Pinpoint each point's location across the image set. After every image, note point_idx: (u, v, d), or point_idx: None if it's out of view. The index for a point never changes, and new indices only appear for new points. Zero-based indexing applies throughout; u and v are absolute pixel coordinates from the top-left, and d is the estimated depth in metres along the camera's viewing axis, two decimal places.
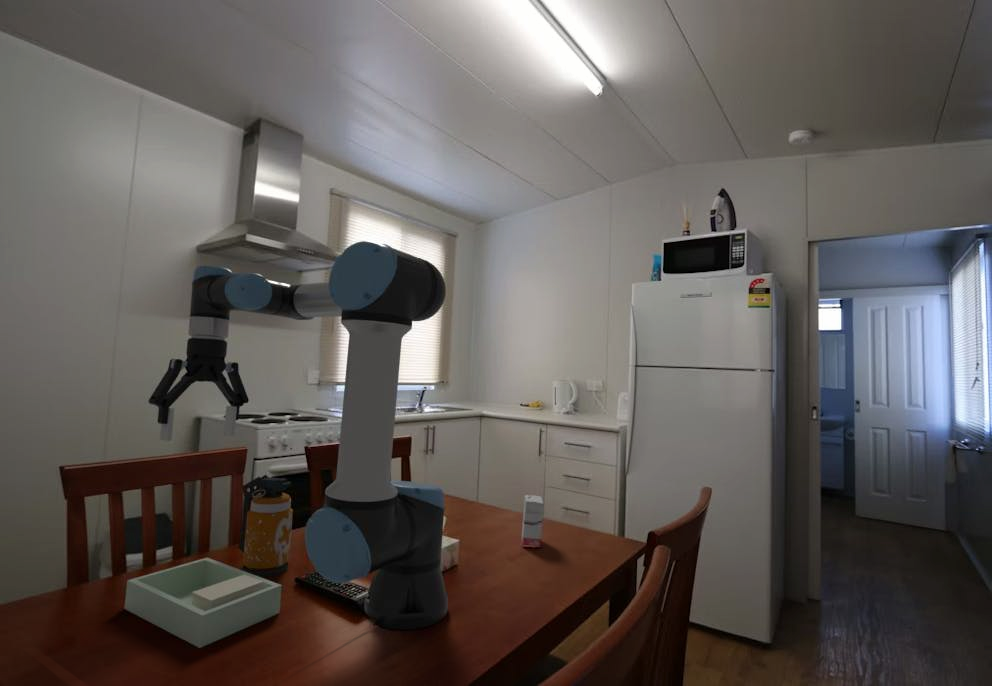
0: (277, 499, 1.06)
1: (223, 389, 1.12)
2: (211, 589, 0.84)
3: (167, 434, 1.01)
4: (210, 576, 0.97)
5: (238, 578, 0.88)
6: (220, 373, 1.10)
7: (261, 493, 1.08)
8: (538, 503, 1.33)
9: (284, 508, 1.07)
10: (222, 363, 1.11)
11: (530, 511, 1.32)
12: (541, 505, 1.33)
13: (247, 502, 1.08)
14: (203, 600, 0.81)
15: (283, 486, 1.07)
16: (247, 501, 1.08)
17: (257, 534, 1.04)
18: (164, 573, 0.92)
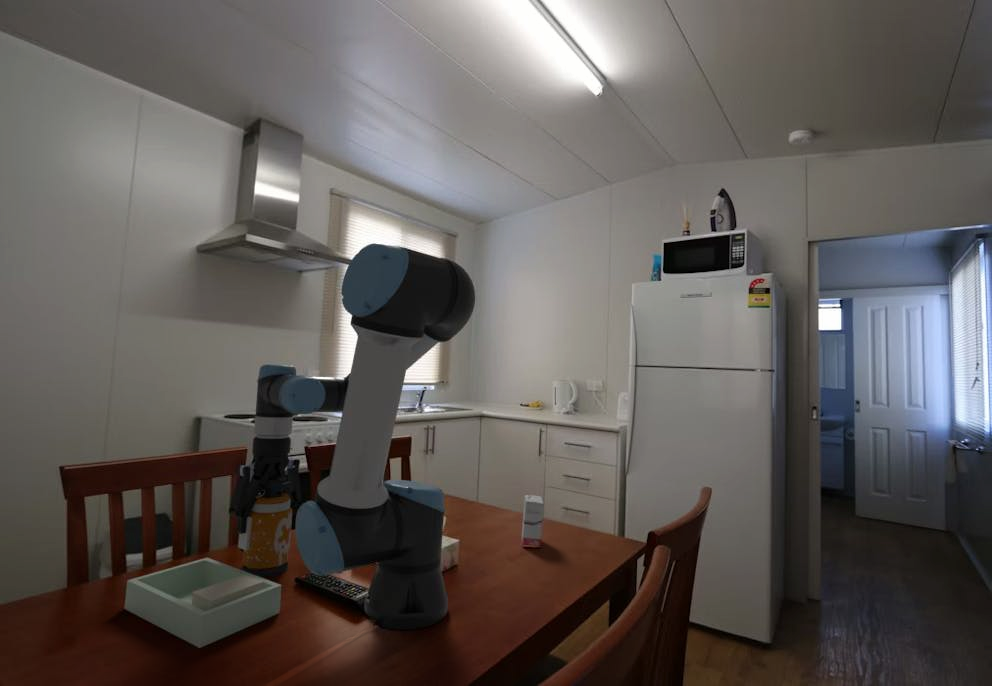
0: (276, 499, 1.06)
1: None
2: (211, 589, 0.84)
3: (246, 543, 1.03)
4: (210, 576, 0.97)
5: (238, 578, 0.88)
6: (283, 471, 1.10)
7: None
8: (538, 503, 1.33)
9: (284, 508, 1.07)
10: (286, 459, 1.12)
11: (530, 511, 1.32)
12: (541, 505, 1.33)
13: None
14: (203, 600, 0.81)
15: (282, 486, 1.07)
16: None
17: (257, 534, 1.04)
18: (164, 573, 0.92)
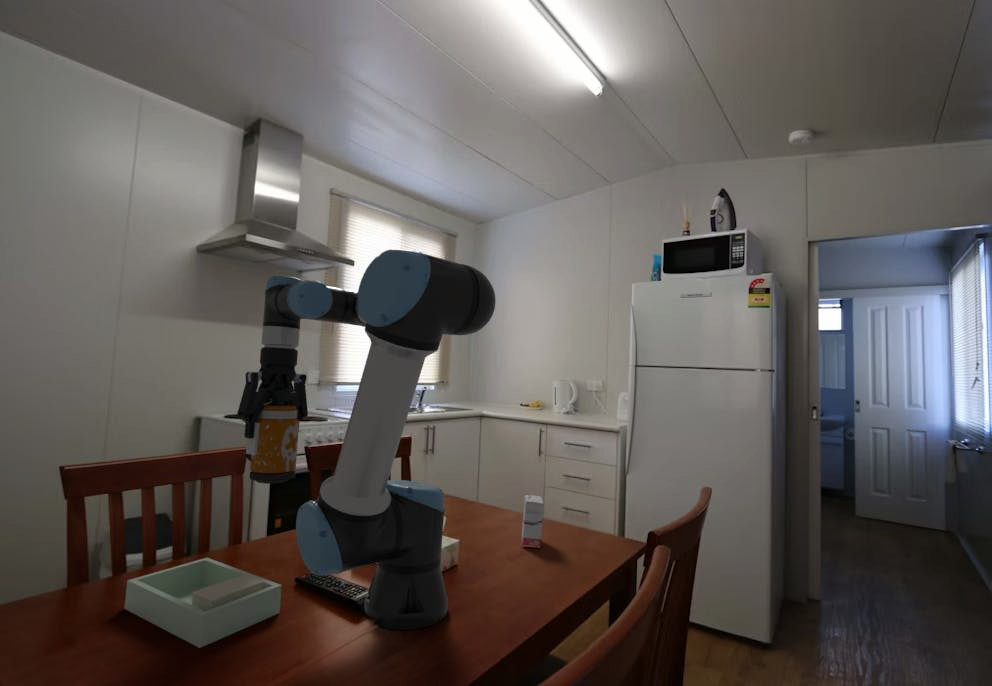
0: (284, 407, 1.07)
1: (288, 400, 1.13)
2: (211, 589, 0.84)
3: (254, 448, 1.05)
4: (210, 576, 0.97)
5: (238, 578, 0.88)
6: (290, 383, 1.11)
7: (268, 402, 1.09)
8: (538, 503, 1.33)
9: (291, 416, 1.08)
10: (293, 372, 1.13)
11: (530, 511, 1.32)
12: (541, 505, 1.33)
13: None
14: (203, 600, 0.81)
15: (290, 394, 1.08)
16: None
17: (264, 439, 1.05)
18: (164, 573, 0.92)
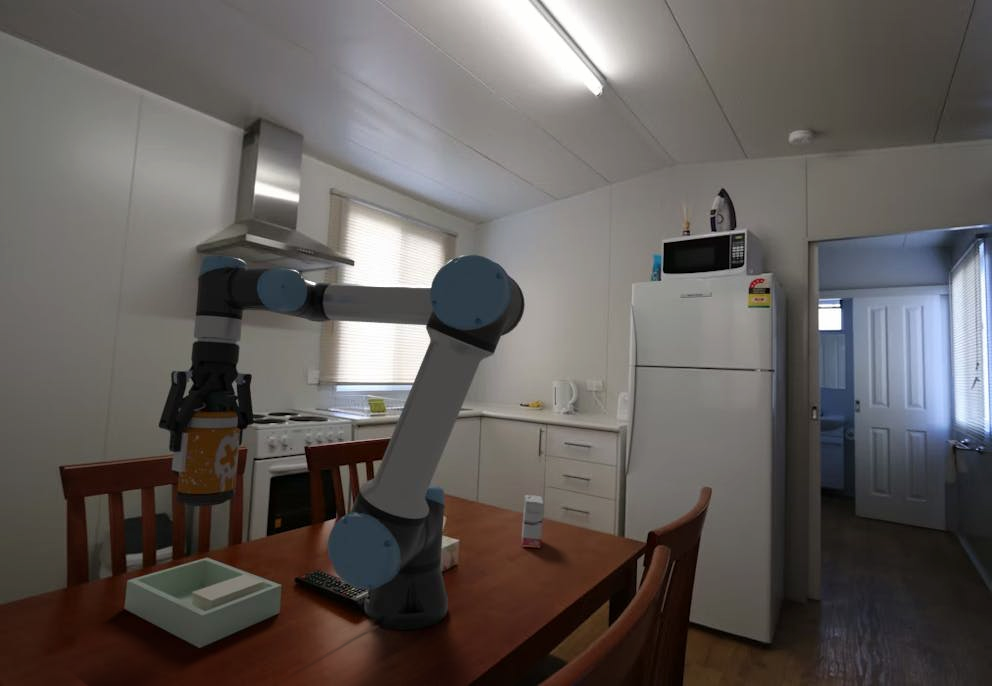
0: (219, 413, 0.89)
1: (228, 405, 0.94)
2: (211, 589, 0.84)
3: (180, 464, 0.86)
4: (210, 576, 0.97)
5: (238, 578, 0.88)
6: (229, 384, 0.93)
7: (201, 408, 0.90)
8: (538, 503, 1.33)
9: (228, 424, 0.89)
10: (234, 371, 0.94)
11: (530, 511, 1.32)
12: (541, 505, 1.33)
13: None
14: (203, 600, 0.81)
15: (226, 398, 0.90)
16: None
17: (194, 453, 0.86)
18: (164, 573, 0.92)
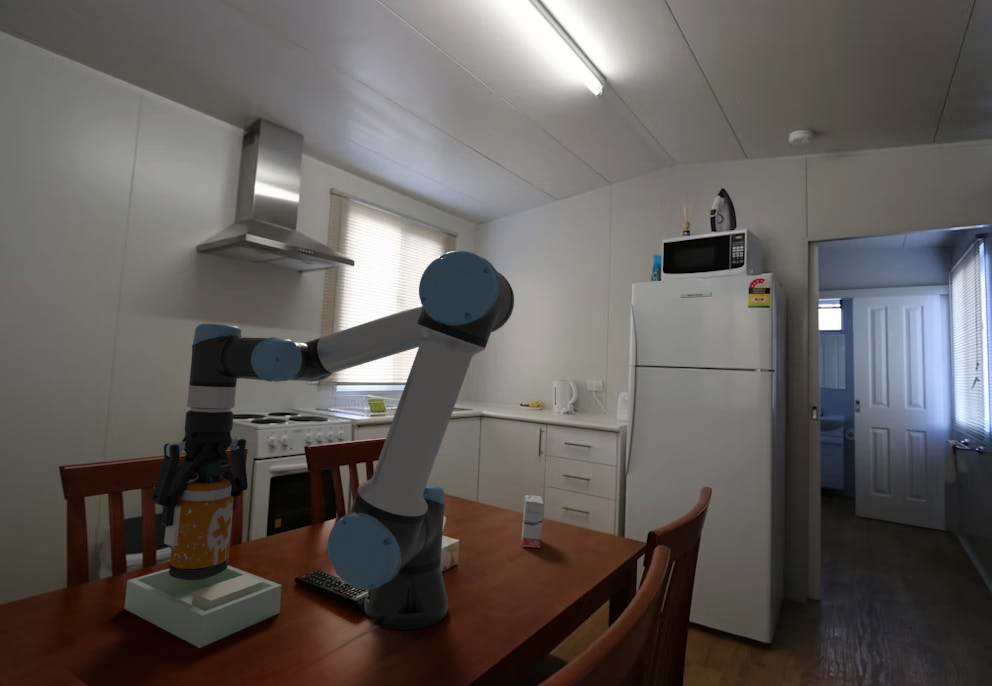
0: (212, 485, 0.88)
1: None
2: (211, 589, 0.84)
3: (173, 538, 0.85)
4: None
5: (238, 578, 0.88)
6: (223, 452, 0.92)
7: (194, 478, 0.90)
8: (538, 503, 1.33)
9: (221, 496, 0.89)
10: (228, 438, 0.93)
11: (530, 511, 1.32)
12: (541, 505, 1.33)
13: None
14: (203, 600, 0.81)
15: (220, 469, 0.89)
16: None
17: (186, 527, 0.85)
18: (164, 573, 0.92)
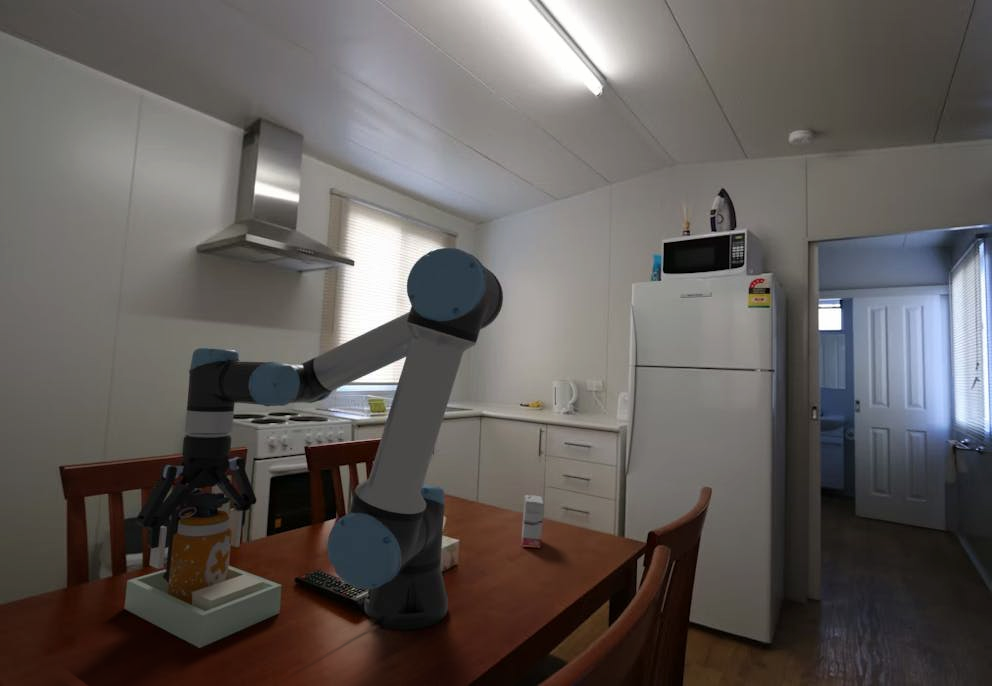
0: (210, 519, 0.87)
1: (226, 492, 0.94)
2: (211, 589, 0.84)
3: (158, 560, 0.83)
4: None
5: (238, 578, 0.88)
6: (223, 475, 0.92)
7: (191, 510, 0.89)
8: (538, 503, 1.33)
9: (219, 530, 0.88)
10: (225, 462, 0.93)
11: (530, 511, 1.32)
12: (541, 505, 1.33)
13: (175, 522, 0.89)
14: (203, 600, 0.81)
15: (218, 503, 0.88)
16: (175, 521, 0.89)
17: (184, 563, 0.85)
18: (164, 573, 0.92)
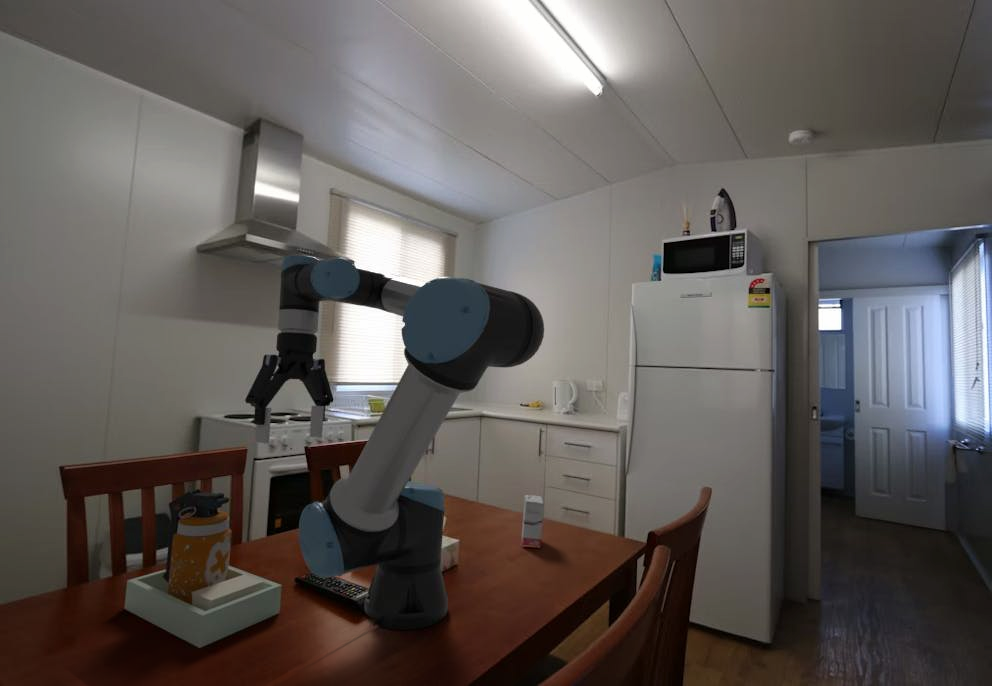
0: (210, 519, 0.87)
1: (311, 388, 1.05)
2: (211, 589, 0.84)
3: (265, 436, 0.94)
4: None
5: (238, 578, 0.88)
6: (310, 370, 1.03)
7: (191, 511, 0.89)
8: (538, 503, 1.33)
9: (219, 530, 0.88)
10: (311, 359, 1.04)
11: (530, 511, 1.32)
12: (541, 505, 1.33)
13: (174, 522, 0.89)
14: (203, 600, 0.81)
15: (217, 503, 0.88)
16: (174, 521, 0.90)
17: (184, 563, 0.85)
18: (164, 573, 0.92)
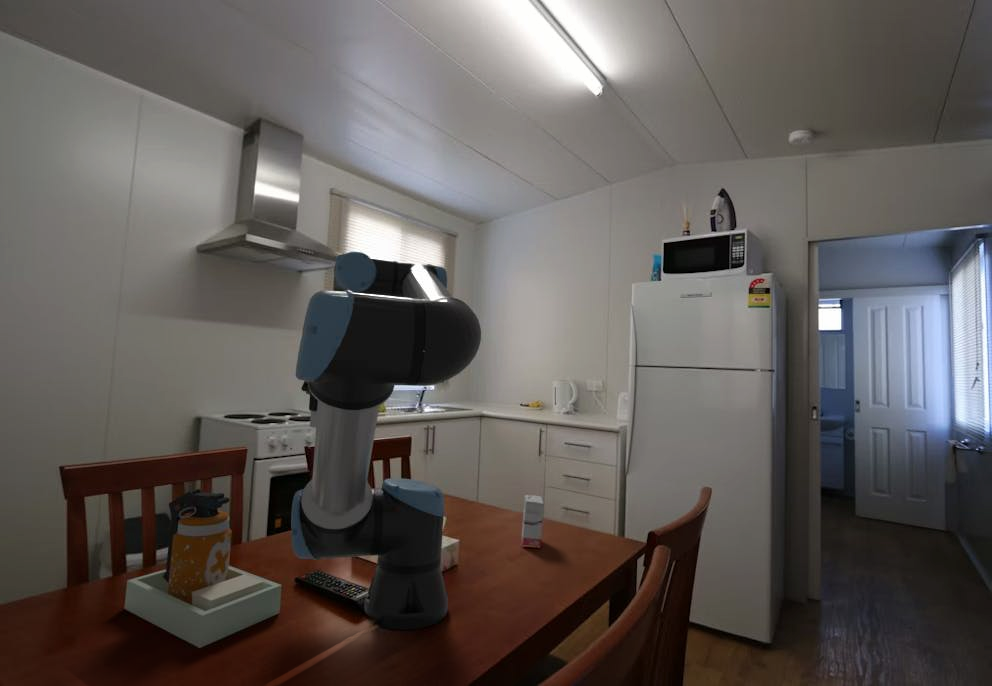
0: (210, 519, 0.87)
1: None
2: (211, 589, 0.84)
3: None
4: None
5: (238, 578, 0.88)
6: None
7: (191, 510, 0.89)
8: (538, 503, 1.33)
9: (219, 530, 0.88)
10: None
11: (530, 511, 1.32)
12: (541, 505, 1.33)
13: (175, 522, 0.89)
14: (203, 600, 0.81)
15: (218, 503, 0.88)
16: (175, 521, 0.90)
17: (184, 563, 0.85)
18: (164, 573, 0.92)
